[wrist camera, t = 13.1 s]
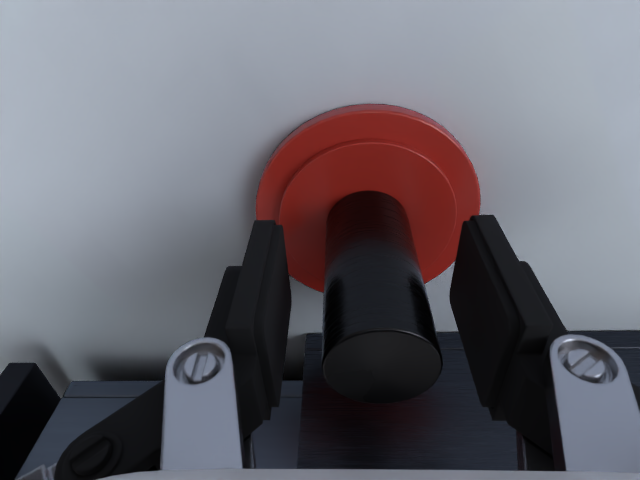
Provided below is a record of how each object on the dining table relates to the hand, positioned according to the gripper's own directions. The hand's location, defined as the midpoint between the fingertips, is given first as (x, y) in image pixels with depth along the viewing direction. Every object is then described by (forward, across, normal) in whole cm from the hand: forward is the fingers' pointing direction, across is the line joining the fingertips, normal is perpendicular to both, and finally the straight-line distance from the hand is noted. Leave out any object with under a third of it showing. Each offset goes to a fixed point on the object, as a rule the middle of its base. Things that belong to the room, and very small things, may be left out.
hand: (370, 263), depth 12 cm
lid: (+3, 0, 0) cm, 3 cm away
